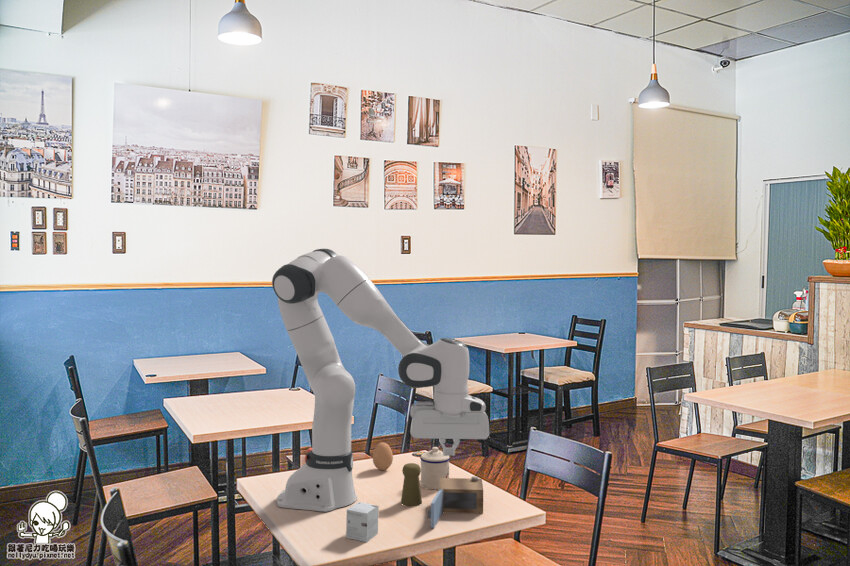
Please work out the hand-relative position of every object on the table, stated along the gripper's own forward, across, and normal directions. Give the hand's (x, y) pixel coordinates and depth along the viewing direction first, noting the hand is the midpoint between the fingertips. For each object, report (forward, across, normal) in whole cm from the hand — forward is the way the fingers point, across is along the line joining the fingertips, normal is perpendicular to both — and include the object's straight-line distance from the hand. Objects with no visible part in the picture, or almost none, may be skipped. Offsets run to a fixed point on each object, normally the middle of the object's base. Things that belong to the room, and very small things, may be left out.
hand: (448, 455), depth 170 cm
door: (+19, -2, +4) cm, 19 cm away
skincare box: (+20, -22, -3) cm, 29 cm away
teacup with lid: (+19, +1, +33) cm, 38 cm away
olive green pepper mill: (+19, -8, +18) cm, 27 cm away
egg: (+19, -15, +47) cm, 53 cm away
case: (+18, +6, +14) cm, 24 cm away
